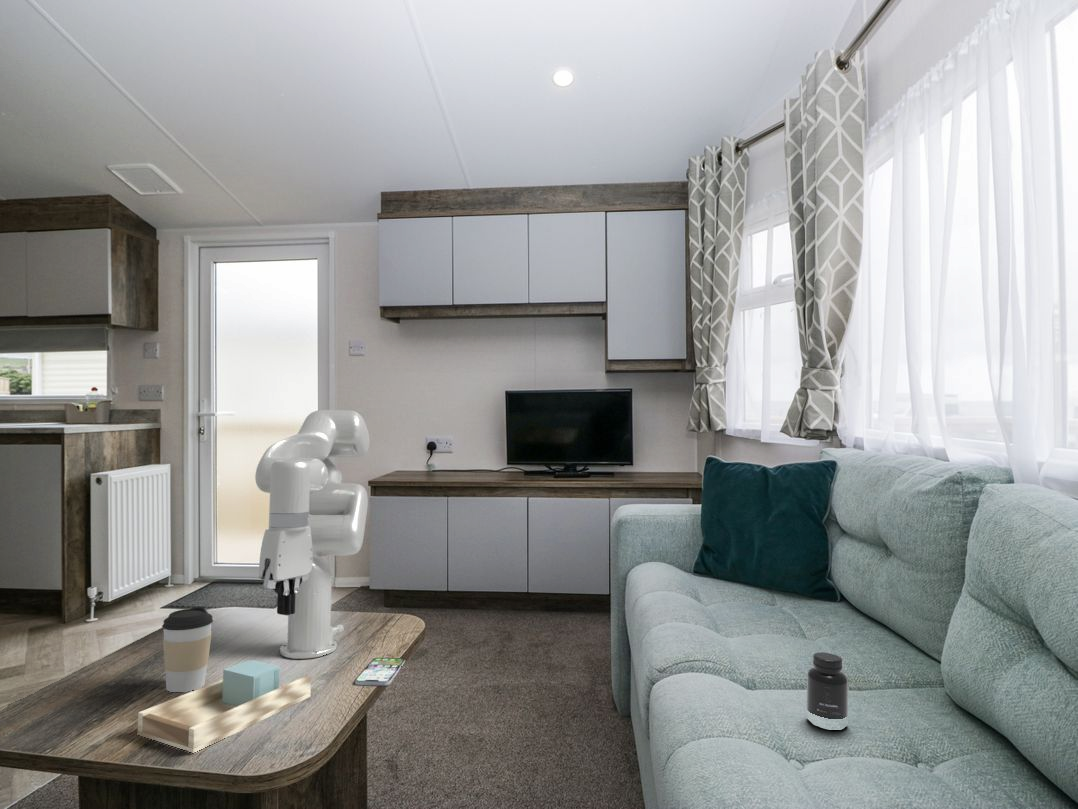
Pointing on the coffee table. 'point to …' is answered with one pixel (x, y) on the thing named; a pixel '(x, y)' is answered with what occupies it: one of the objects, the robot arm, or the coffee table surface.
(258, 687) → the light blue block
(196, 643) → the coffee cup
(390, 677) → the smartphone
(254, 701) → the bay
